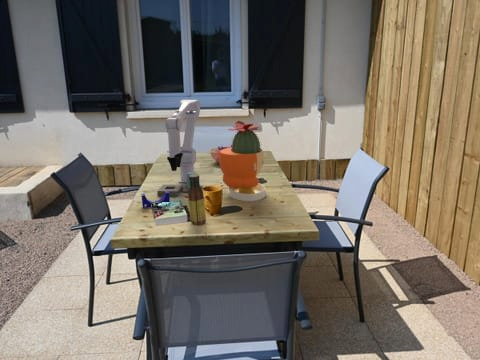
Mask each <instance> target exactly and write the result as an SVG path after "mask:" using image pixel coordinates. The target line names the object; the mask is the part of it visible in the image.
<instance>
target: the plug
mask: <svg viewBox="0 0 480 360" xmlns="http://www.w3.org/2000/svg"><path fill="white" fill-rule="evenodd" d="M192 174H197V172H196V171H194V172H188V173H187V182H186V186H187V190H189V188H190V180H189V175H192Z"/></svg>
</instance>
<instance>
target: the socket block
mask: <svg viewBox="0 0 480 360" xmlns="http://www.w3.org/2000/svg"><path fill="white" fill-rule="evenodd" d="M183 189H184V186H183V184H162V185H161V186H160V187H159V188H158V189H157V192H156V194H157V197H164V195H165V191H169V196H170V197H179V196H180V194H181V193H182V190H183Z"/></svg>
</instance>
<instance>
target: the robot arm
mask: <svg viewBox="0 0 480 360" xmlns="http://www.w3.org/2000/svg"><path fill="white" fill-rule="evenodd" d="M200 111H201V103H200V101H199V100H198V99H181V100H180V102H179V109H176V110H175V111H174V112H173V114H172V115H171V116H170V117H168V118H166V119H165V123H164V124H165V129H166V134H167V136H168V150H167V151H166V153H167V154H169V156H166V159H167V161H168V163H169V166H170V168H171V171H172V172H176V171H177V169H178V168H179V172H180V175H179V176H180V179H179V181H178V183H187V173H188V172H195V164H196V162H197V150H196V149H195V148H194V147H193V142H194V135H195V127H196V120H197V118H198V117H199V116H200ZM185 118H186V121H185V129H184V135H183V143H182V146H181V131H180V130H181V129H182V125H183V122H184V120H185Z"/></svg>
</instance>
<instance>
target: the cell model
mask: <svg viewBox="0 0 480 360" xmlns="http://www.w3.org/2000/svg"><path fill="white" fill-rule="evenodd" d="M230 147H232V144H230V145H229V146H218V147H215V148H211V149H210V150H209V151H208V152H209V154H210V157H211V158H212V160H214V161H215V162H216V163H219V156H220V151H221V150H223V149H226V148H230ZM219 164H220V163H219Z"/></svg>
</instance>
